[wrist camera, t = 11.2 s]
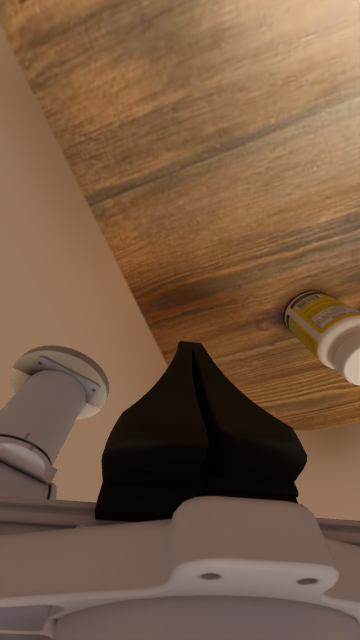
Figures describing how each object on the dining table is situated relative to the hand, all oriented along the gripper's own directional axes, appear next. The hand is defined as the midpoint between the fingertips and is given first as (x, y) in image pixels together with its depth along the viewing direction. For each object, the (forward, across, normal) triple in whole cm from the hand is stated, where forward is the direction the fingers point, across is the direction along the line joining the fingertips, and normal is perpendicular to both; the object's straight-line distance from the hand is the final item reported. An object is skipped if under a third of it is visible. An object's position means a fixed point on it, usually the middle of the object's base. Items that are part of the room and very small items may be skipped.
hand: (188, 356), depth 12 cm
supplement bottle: (+10, -13, 0) cm, 16 cm away
